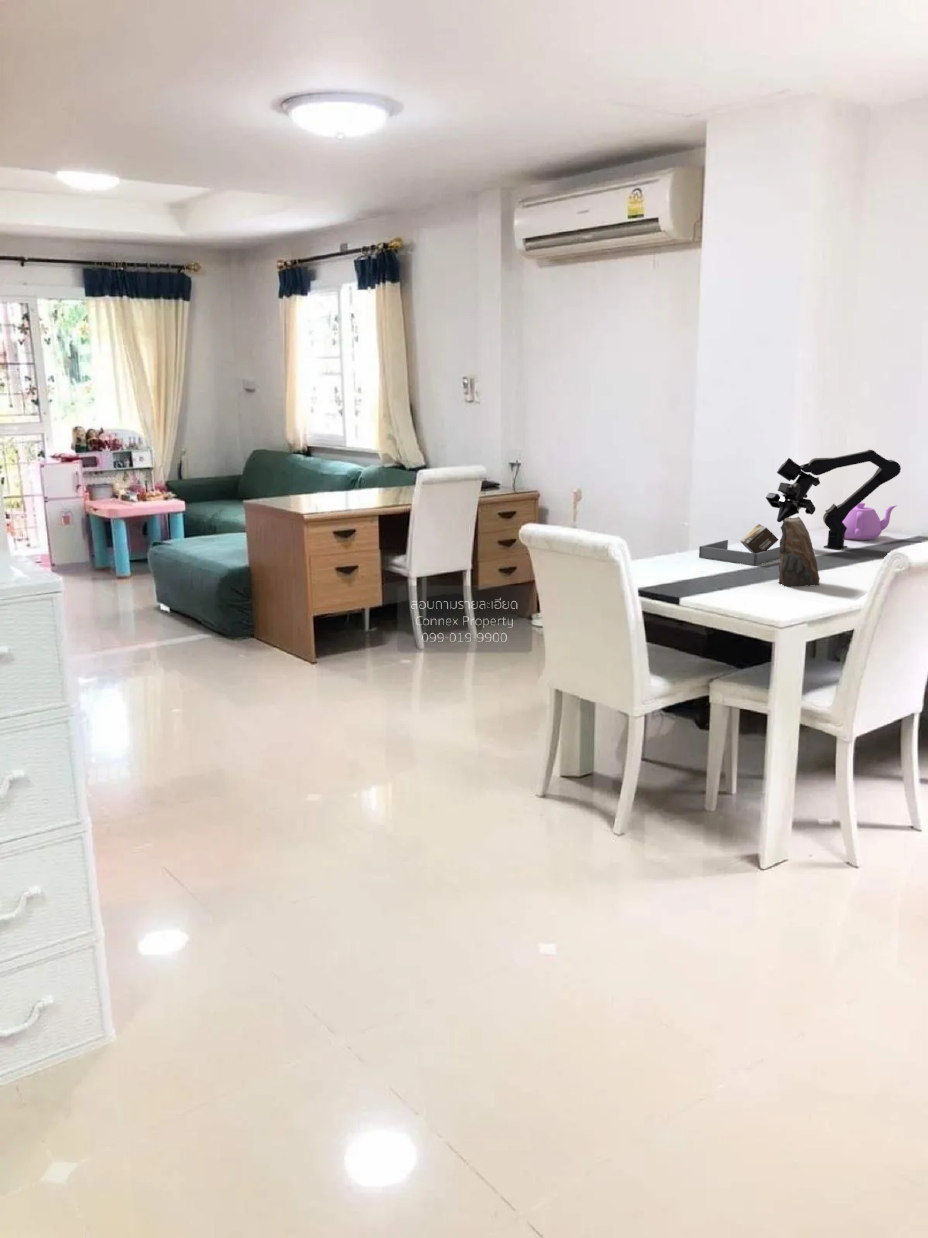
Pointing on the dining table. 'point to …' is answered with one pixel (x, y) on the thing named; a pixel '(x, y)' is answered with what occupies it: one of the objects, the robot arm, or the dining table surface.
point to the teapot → (865, 522)
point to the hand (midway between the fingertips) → (778, 521)
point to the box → (736, 554)
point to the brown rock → (796, 555)
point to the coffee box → (759, 539)
